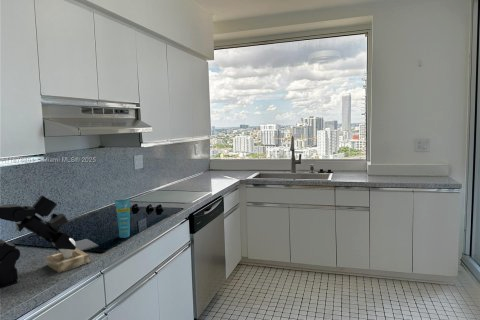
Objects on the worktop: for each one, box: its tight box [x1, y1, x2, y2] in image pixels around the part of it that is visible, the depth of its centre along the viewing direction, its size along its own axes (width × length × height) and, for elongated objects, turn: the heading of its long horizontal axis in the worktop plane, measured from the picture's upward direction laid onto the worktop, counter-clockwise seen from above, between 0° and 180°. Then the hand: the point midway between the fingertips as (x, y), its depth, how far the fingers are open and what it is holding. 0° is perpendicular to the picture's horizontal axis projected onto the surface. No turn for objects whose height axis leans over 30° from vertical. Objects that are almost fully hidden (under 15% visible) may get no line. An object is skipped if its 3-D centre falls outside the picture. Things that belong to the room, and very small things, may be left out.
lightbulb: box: [58, 237, 75, 260], centre depth 141 cm, size 6×6×11 cm
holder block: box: [46, 248, 90, 274], centre depth 141 cm, size 12×12×4 cm
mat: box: [74, 238, 99, 252], centre depth 161 cm, size 14×14×1 cm
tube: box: [114, 198, 131, 239], centre depth 174 cm, size 7×5×19 cm, turn 119°
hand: (70, 246), depth 142 cm, fingers open, 9 cm apart
